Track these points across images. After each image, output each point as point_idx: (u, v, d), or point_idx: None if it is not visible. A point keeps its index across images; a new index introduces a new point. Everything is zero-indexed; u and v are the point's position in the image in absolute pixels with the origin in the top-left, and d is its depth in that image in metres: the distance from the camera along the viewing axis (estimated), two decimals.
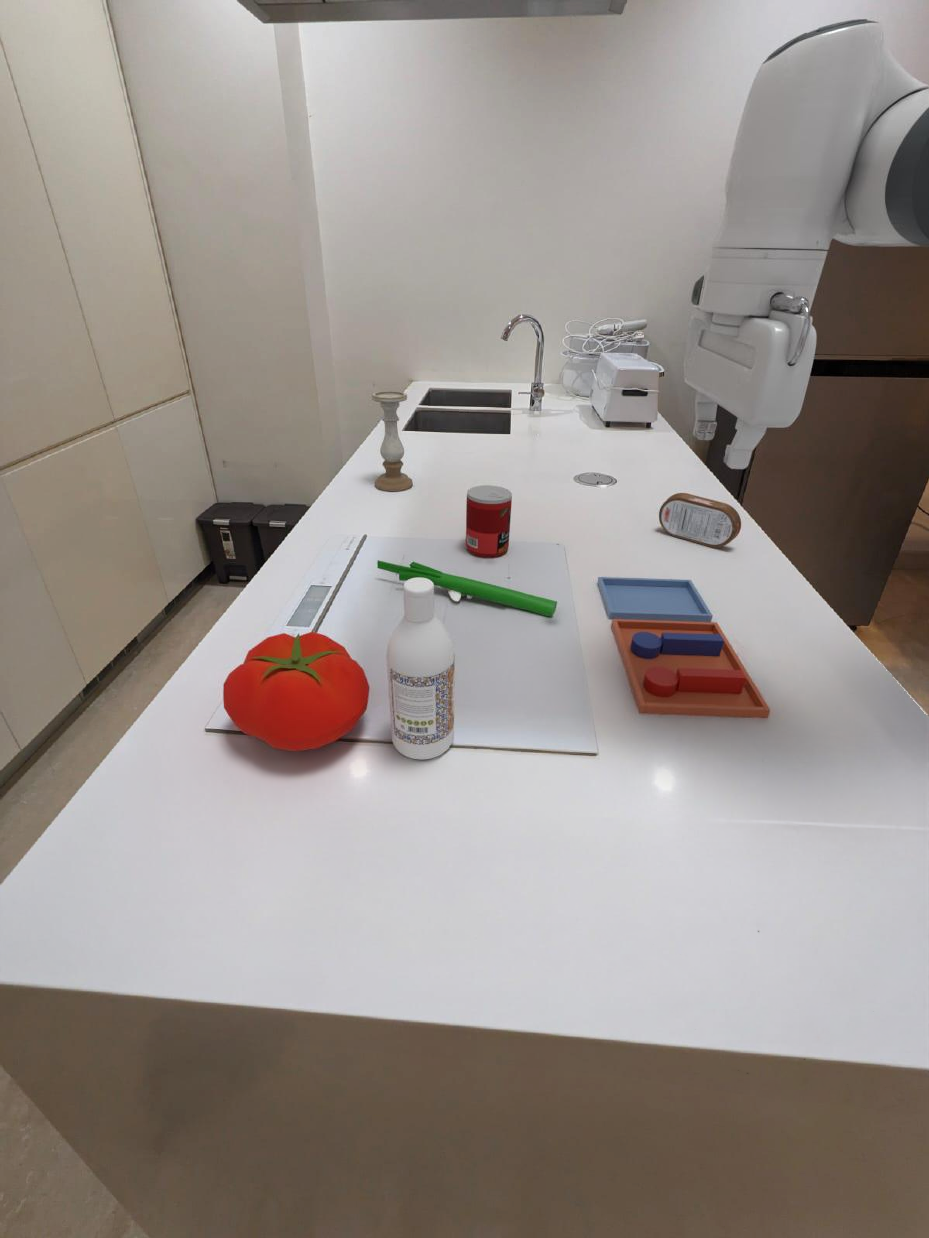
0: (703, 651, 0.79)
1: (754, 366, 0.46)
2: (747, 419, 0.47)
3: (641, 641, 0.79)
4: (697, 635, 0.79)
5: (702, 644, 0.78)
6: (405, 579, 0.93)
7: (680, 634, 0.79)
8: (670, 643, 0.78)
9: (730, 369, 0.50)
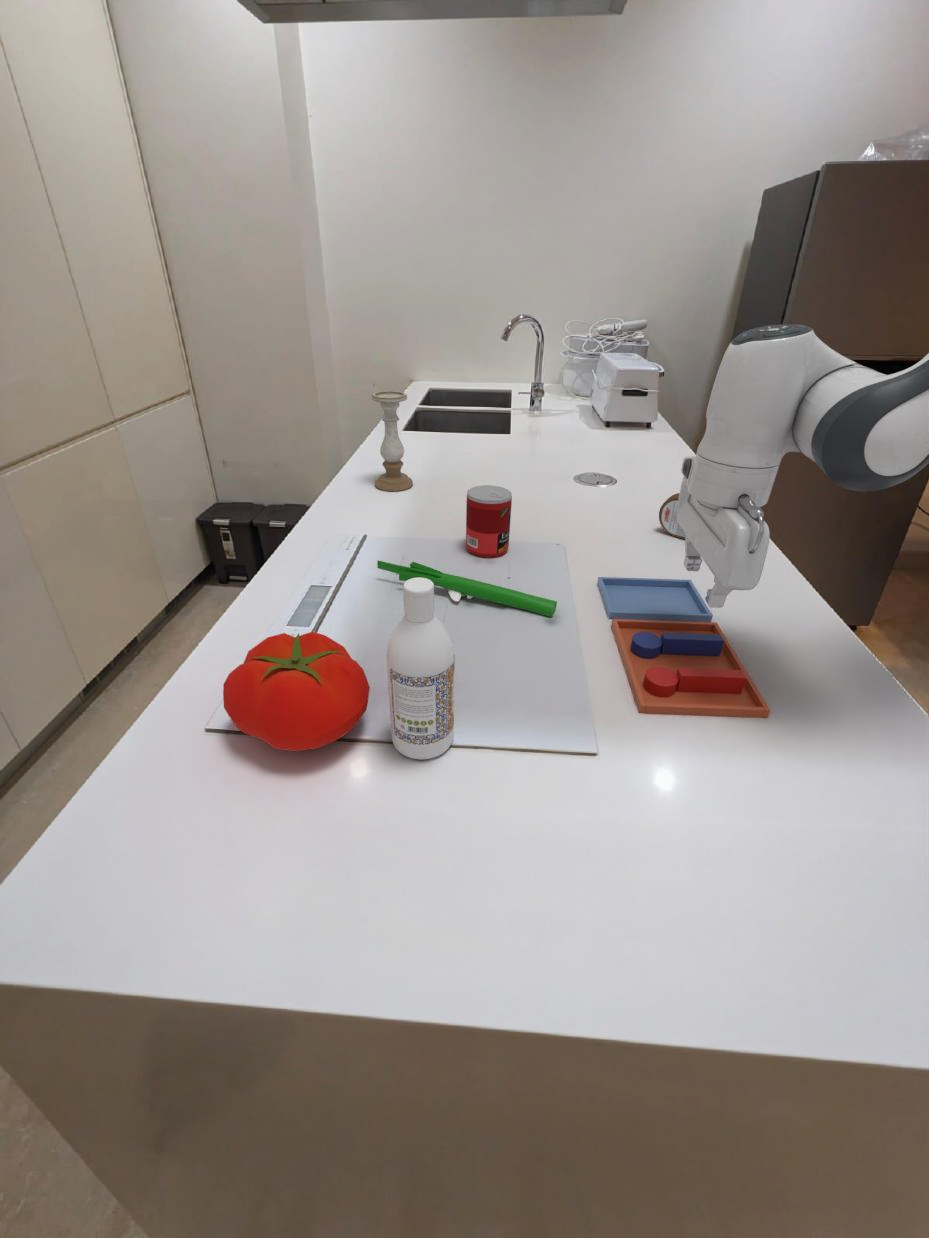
0: (703, 651, 0.79)
1: (726, 547, 0.63)
2: (721, 583, 0.64)
3: (641, 641, 0.79)
4: (697, 635, 0.79)
5: (702, 644, 0.78)
6: (405, 579, 0.93)
7: (680, 634, 0.79)
8: (670, 643, 0.78)
9: (710, 537, 0.68)
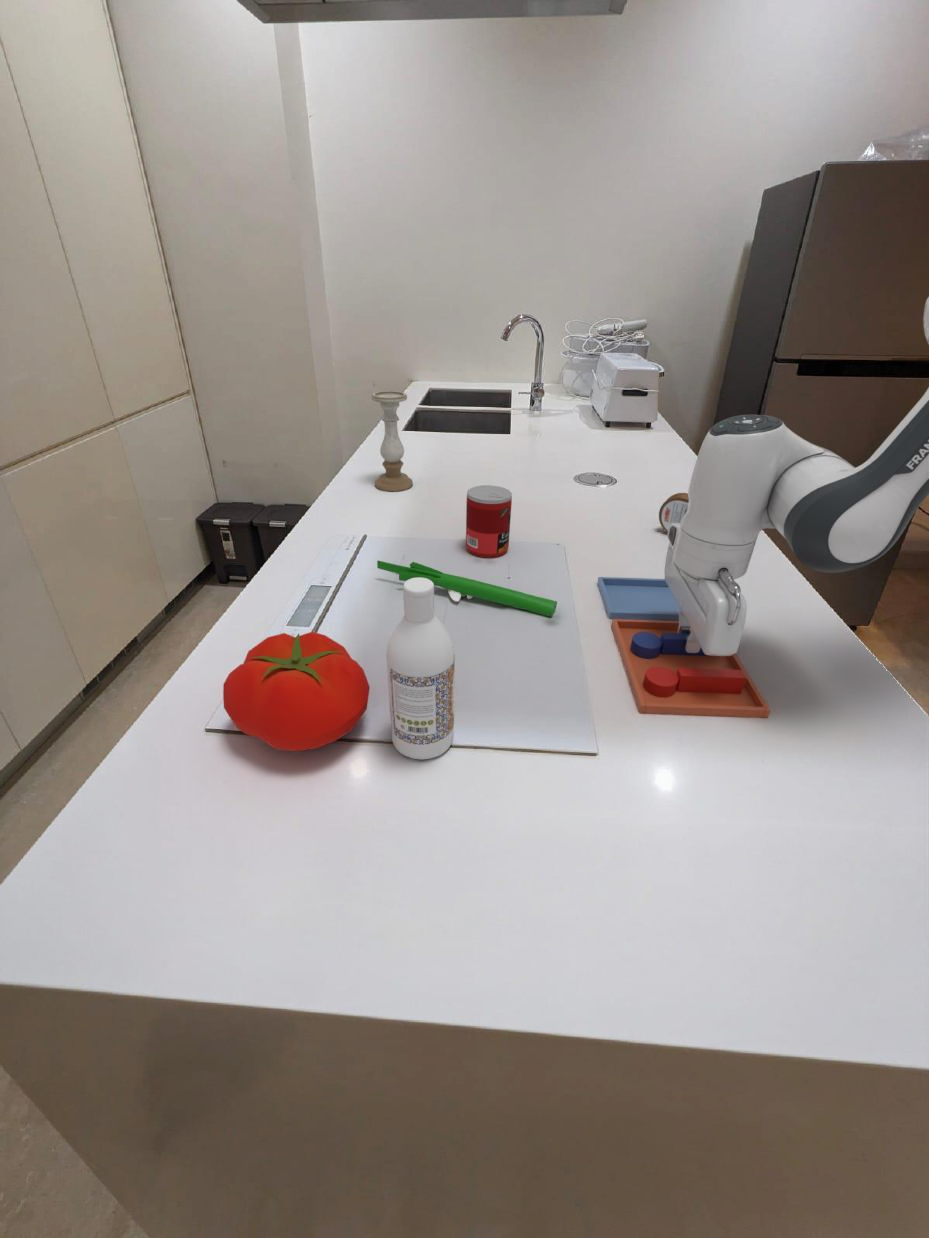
0: None
1: (707, 617, 0.68)
2: (703, 649, 0.69)
3: (641, 641, 0.79)
4: None
5: None
6: (405, 579, 0.93)
7: (680, 634, 0.79)
8: (671, 643, 0.78)
9: (693, 603, 0.73)
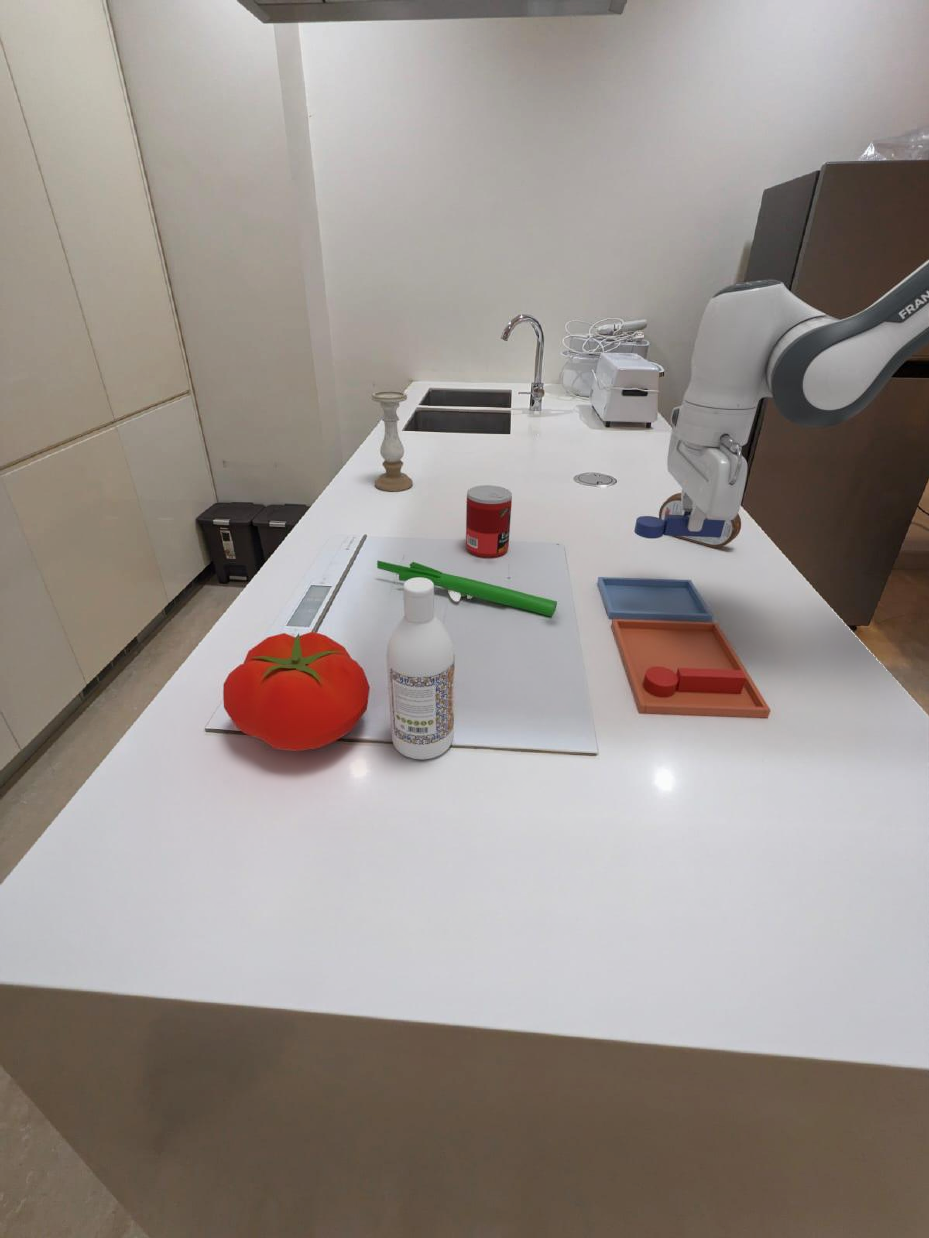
0: (705, 532, 0.82)
1: (709, 481, 0.71)
2: (705, 514, 0.72)
3: (645, 522, 0.82)
4: None
5: (704, 524, 0.81)
6: (405, 579, 0.93)
7: (683, 515, 0.82)
8: (673, 523, 0.81)
9: (695, 476, 0.76)
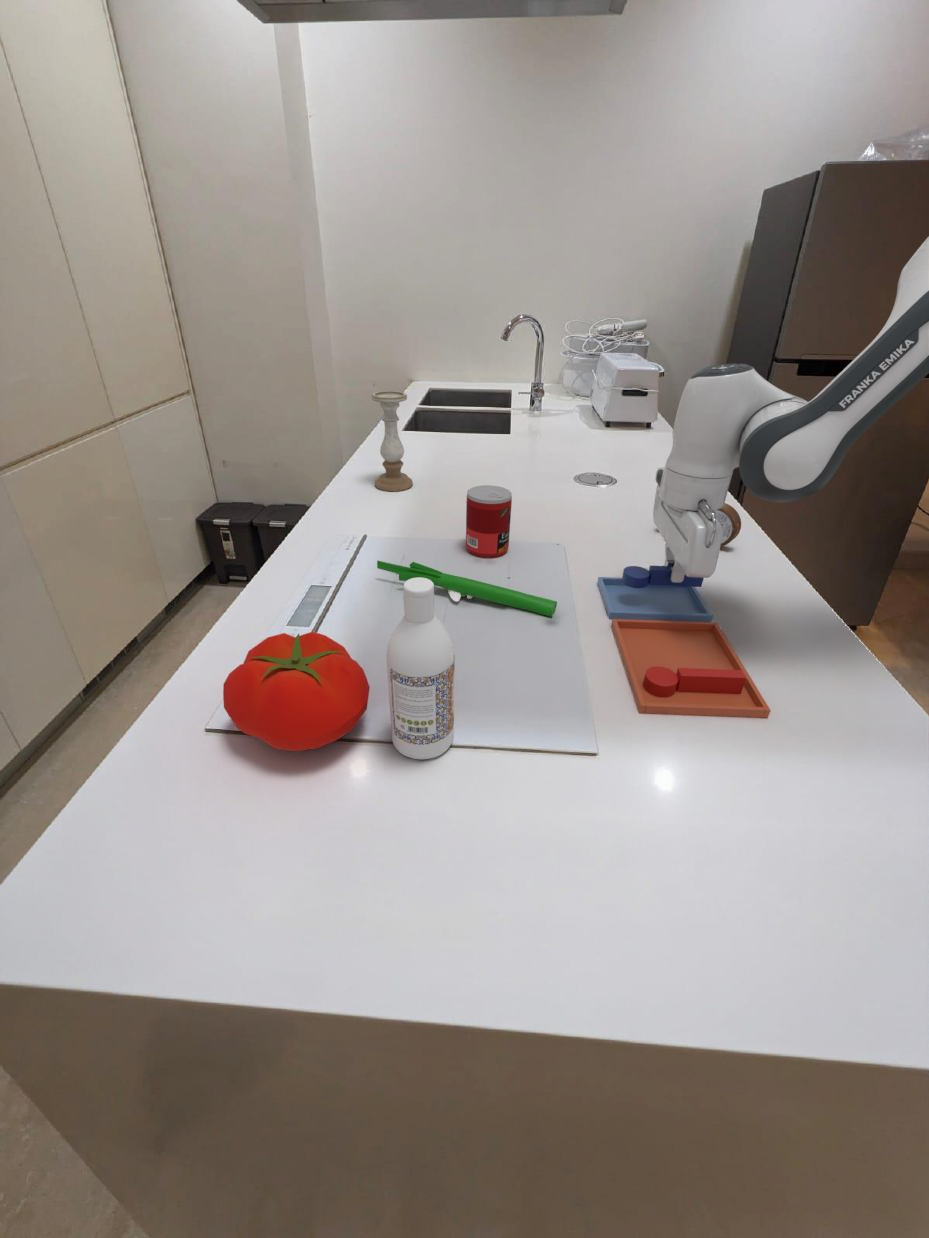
0: (686, 582, 0.88)
1: (688, 542, 0.78)
2: (684, 572, 0.79)
3: (631, 573, 0.88)
4: None
5: (685, 575, 0.88)
6: (405, 579, 0.93)
7: (666, 567, 0.89)
8: (657, 574, 0.88)
9: (677, 534, 0.82)
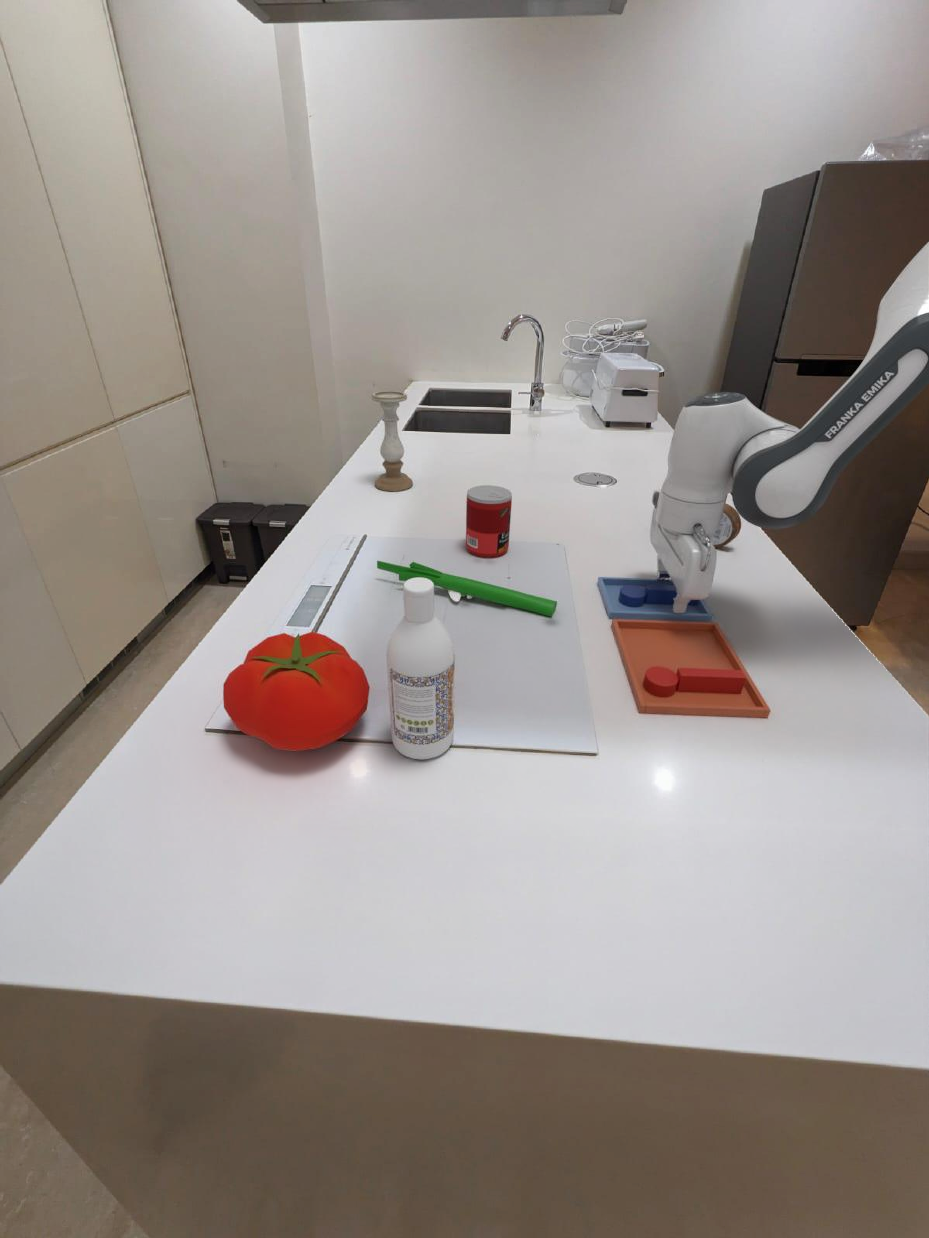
0: None
1: (683, 566, 0.80)
2: (680, 594, 0.81)
3: (628, 592, 0.90)
4: None
5: None
6: (405, 580, 0.93)
7: (662, 586, 0.90)
8: (653, 594, 0.90)
9: (673, 556, 0.84)
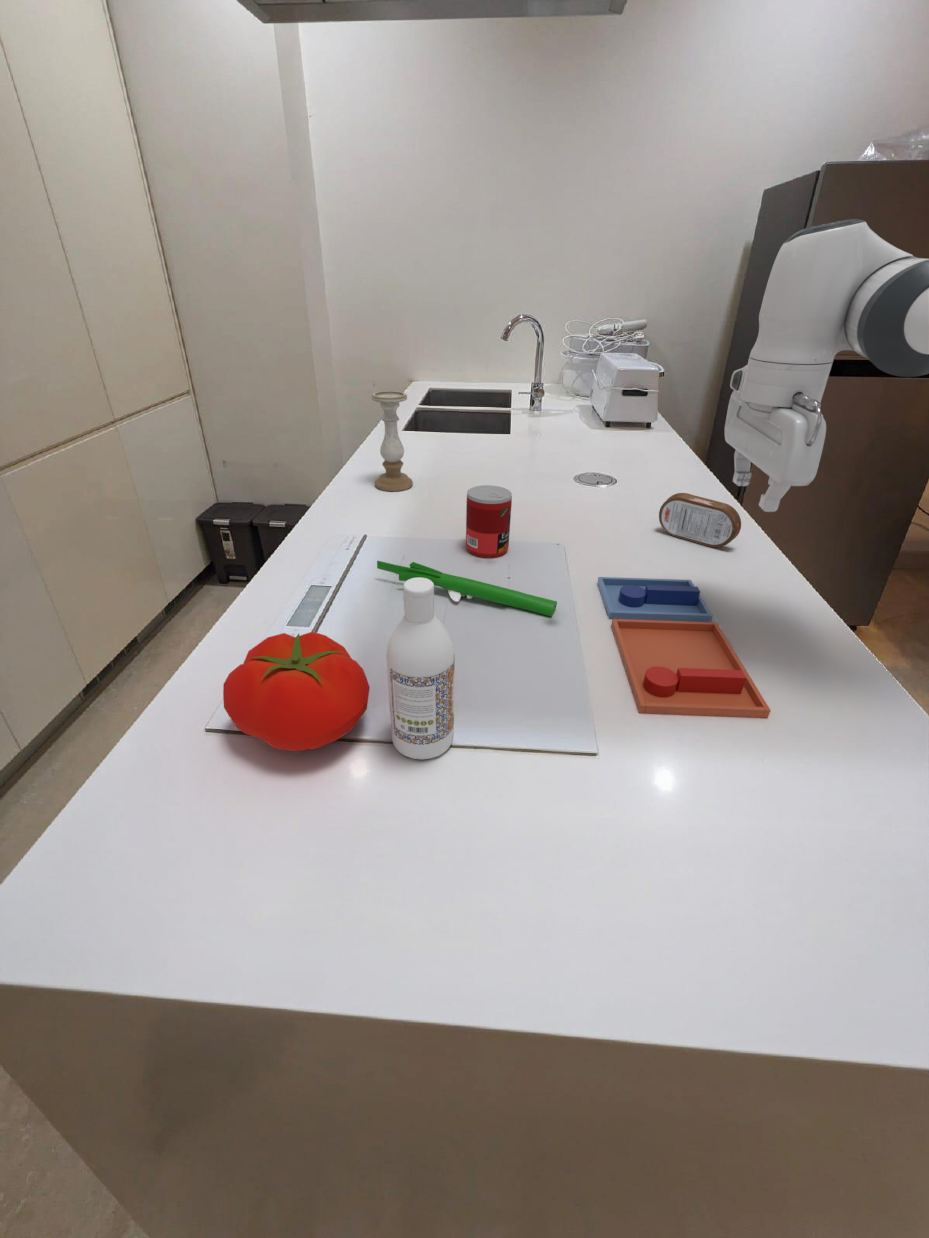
0: (682, 601, 0.90)
1: (782, 444, 0.65)
2: (777, 480, 0.66)
3: (628, 592, 0.90)
4: (677, 587, 0.90)
5: (681, 594, 0.90)
6: (405, 580, 0.93)
7: (662, 586, 0.90)
8: (653, 594, 0.90)
9: (763, 441, 0.70)
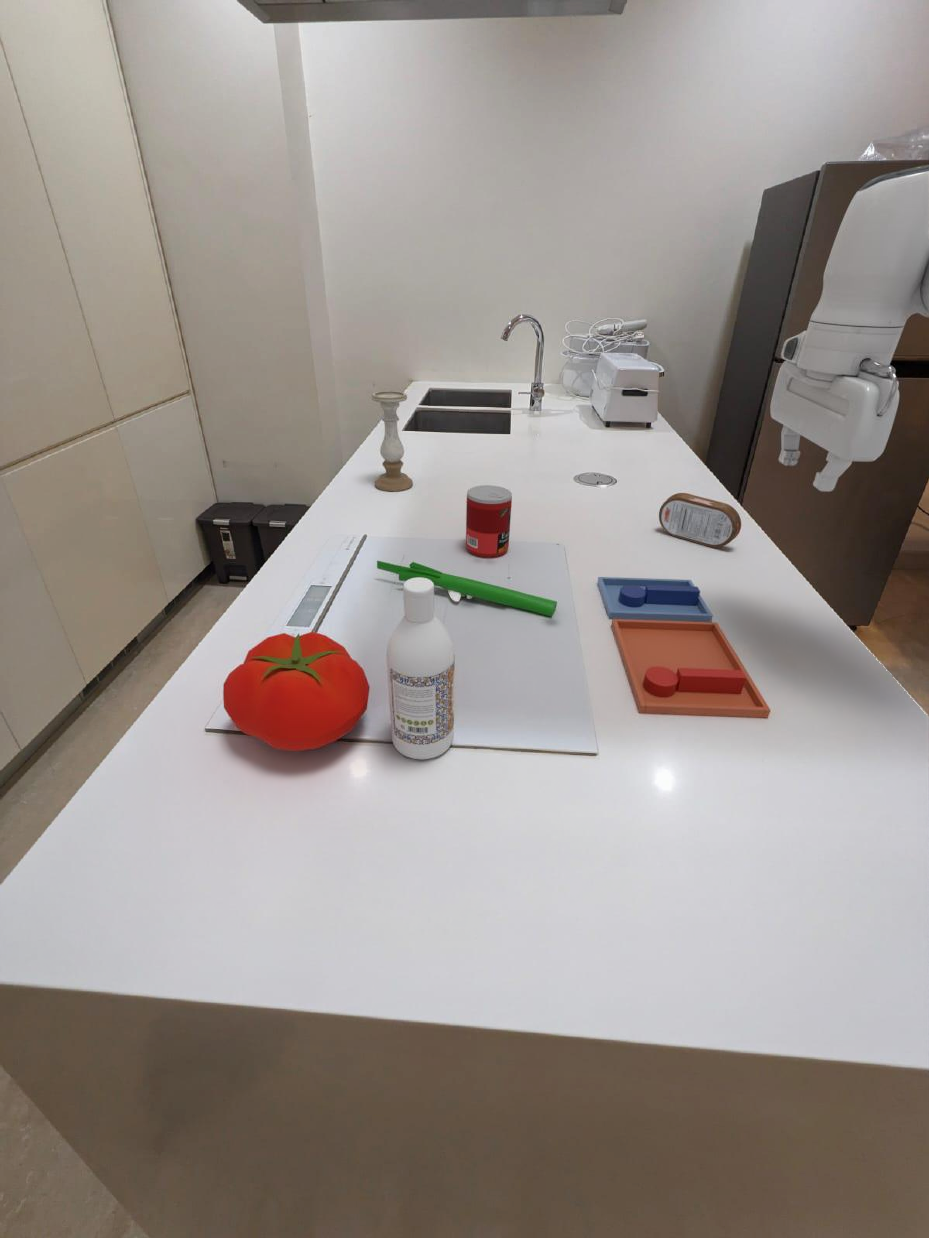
0: (682, 601, 0.90)
1: (848, 415, 0.60)
2: (841, 455, 0.61)
3: (628, 592, 0.90)
4: (677, 587, 0.90)
5: (681, 594, 0.90)
6: (405, 580, 0.93)
7: (662, 586, 0.90)
8: (653, 594, 0.90)
9: (822, 413, 0.64)
